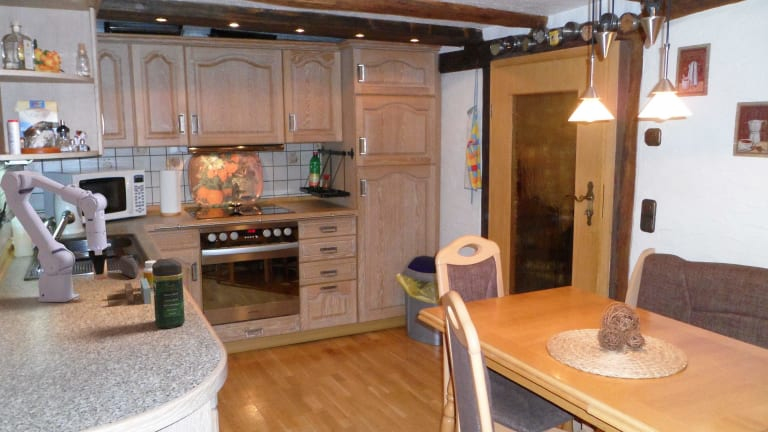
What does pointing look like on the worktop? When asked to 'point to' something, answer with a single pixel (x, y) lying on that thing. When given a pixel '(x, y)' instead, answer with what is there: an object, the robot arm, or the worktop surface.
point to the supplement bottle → (149, 273)
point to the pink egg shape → (101, 276)
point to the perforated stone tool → (128, 266)
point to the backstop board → (145, 291)
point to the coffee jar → (168, 293)
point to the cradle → (127, 295)
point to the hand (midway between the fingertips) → (99, 272)
